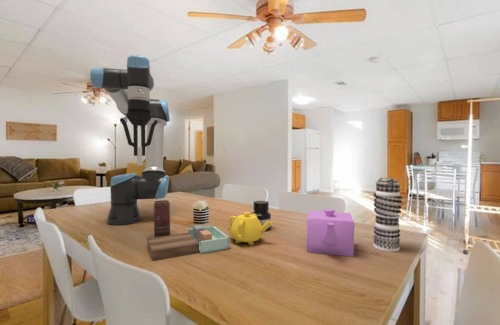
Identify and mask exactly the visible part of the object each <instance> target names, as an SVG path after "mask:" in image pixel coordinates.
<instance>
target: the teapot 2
mask: <svg viewBox="0 0 500 325" xmlns="http://www.w3.org/2000/svg"><path fill="white" fill-rule="evenodd" d="M354 246H355V221H354V219H353V216H352V215H351V213H350V212H339V211H337V212H336V209H334V208H325V209H324V211H322V210H321V211H319V210H308V212H307V218H306V253H312V254H313V253H314V254H322V255H323V254H325V255H332V256H334V255H335V256H341V257H342V256H345V257H353V258H354V256H355V255H354V254H355V253H354V251H355V250H354V249H355V248H354Z"/></svg>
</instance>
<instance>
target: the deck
mask: <svg viewBox="0 0 500 325" xmlns="http://www.w3.org/2000/svg"><path fill="white" fill-rule="evenodd" d="M147 248H148V251H149V254H150V256H151V259H152V261H158V260H164V259H169V258H176V257H181V256H186V255H187V256H188V255H191V254H192V255H193V254H198V253H200V252H199V243H198V242H197V241H196V240H195V239H194V238H193V237H192V235H191V234H190V233H188V232H182V233H175V234H169V235H167V236H160V237H156V236H153V237H152V236H151V237H147Z"/></svg>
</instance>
